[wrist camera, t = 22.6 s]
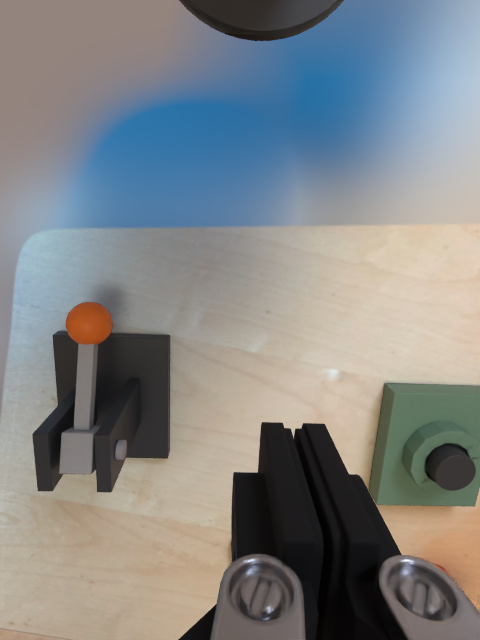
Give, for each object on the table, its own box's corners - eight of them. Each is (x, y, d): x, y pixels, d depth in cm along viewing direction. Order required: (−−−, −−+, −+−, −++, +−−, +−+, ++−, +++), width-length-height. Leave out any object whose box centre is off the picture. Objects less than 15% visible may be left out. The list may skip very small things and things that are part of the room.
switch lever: (76, 303, 30) (59, 298, 27) (118, 305, 30) (106, 300, 27) (67, 461, 29) (48, 476, 26) (110, 462, 29) (96, 476, 26)
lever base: (58, 331, 35) (-14, 379, 24) (170, 335, 35) (146, 383, 25) (66, 449, 38) (5, 536, 27) (169, 451, 38) (148, 538, 28)
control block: (384, 382, 37) (403, 401, 33) (485, 385, 38) (515, 404, 34) (368, 489, 40) (383, 518, 36) (462, 491, 41) (487, 520, 37)
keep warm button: (428, 443, 35) (439, 454, 33) (467, 444, 35) (480, 455, 33) (422, 478, 36) (432, 490, 34) (460, 478, 36) (471, 491, 34)
